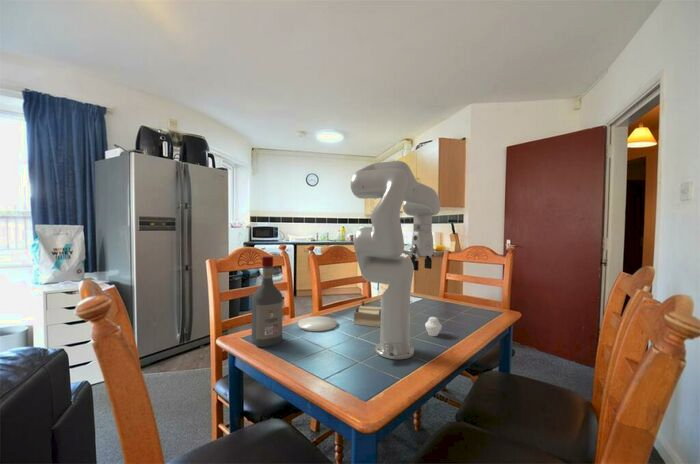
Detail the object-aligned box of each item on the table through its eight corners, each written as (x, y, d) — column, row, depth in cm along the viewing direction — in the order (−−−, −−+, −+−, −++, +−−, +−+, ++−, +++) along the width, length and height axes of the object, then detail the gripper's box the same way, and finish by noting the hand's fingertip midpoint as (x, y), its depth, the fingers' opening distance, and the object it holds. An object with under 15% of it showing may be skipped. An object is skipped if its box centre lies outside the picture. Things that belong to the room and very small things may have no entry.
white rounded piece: (426, 331, 118) (426, 313, 118) (442, 333, 116) (442, 315, 116) (423, 336, 112) (424, 317, 112) (440, 338, 110) (440, 320, 110)
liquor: (284, 343, 104) (285, 257, 103) (258, 349, 99) (258, 258, 98) (274, 335, 111) (275, 255, 111) (250, 340, 106) (250, 256, 105)
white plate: (328, 334, 113) (328, 330, 113) (290, 329, 118) (290, 326, 118) (341, 321, 129) (341, 318, 129) (307, 317, 133) (307, 314, 133)
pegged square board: (382, 327, 122) (382, 310, 121) (354, 324, 125) (354, 307, 125) (387, 318, 133) (387, 303, 133) (361, 315, 137) (361, 300, 136)
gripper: (418, 228, 117) (417, 272, 117) (441, 229, 129) (440, 268, 129) (402, 228, 122) (401, 269, 122) (426, 228, 134) (425, 266, 134)
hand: (421, 269), depth 126 cm, fingers open, 9 cm apart
